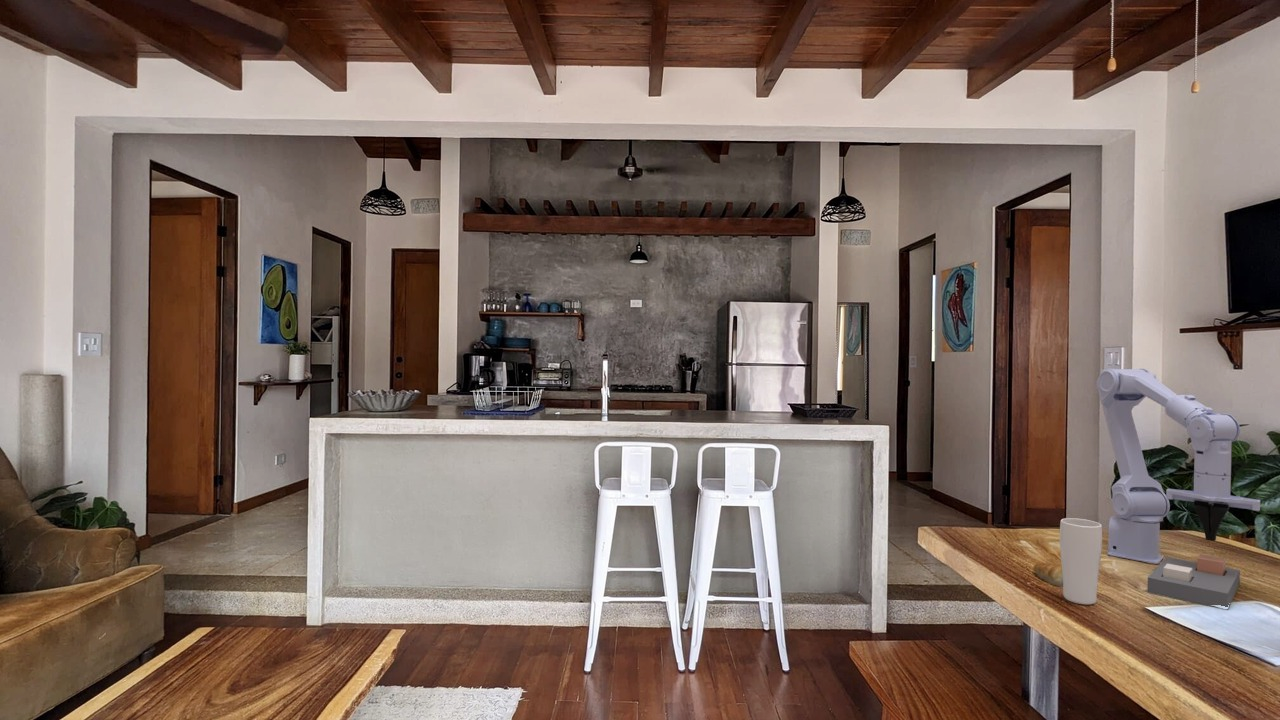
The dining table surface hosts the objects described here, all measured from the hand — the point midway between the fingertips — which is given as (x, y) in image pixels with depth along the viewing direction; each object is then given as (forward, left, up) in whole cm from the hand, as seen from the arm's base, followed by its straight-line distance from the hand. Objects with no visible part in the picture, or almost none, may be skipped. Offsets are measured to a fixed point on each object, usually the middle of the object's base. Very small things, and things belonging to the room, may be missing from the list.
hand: (1210, 539), depth 138 cm
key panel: (-2, -5, -9) cm, 11 cm away
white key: (-4, -10, -8) cm, 13 cm away
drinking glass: (-16, -30, -10) cm, 35 cm away
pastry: (-22, -20, -10) cm, 31 cm away
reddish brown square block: (0, 0, -7) cm, 7 cm away
